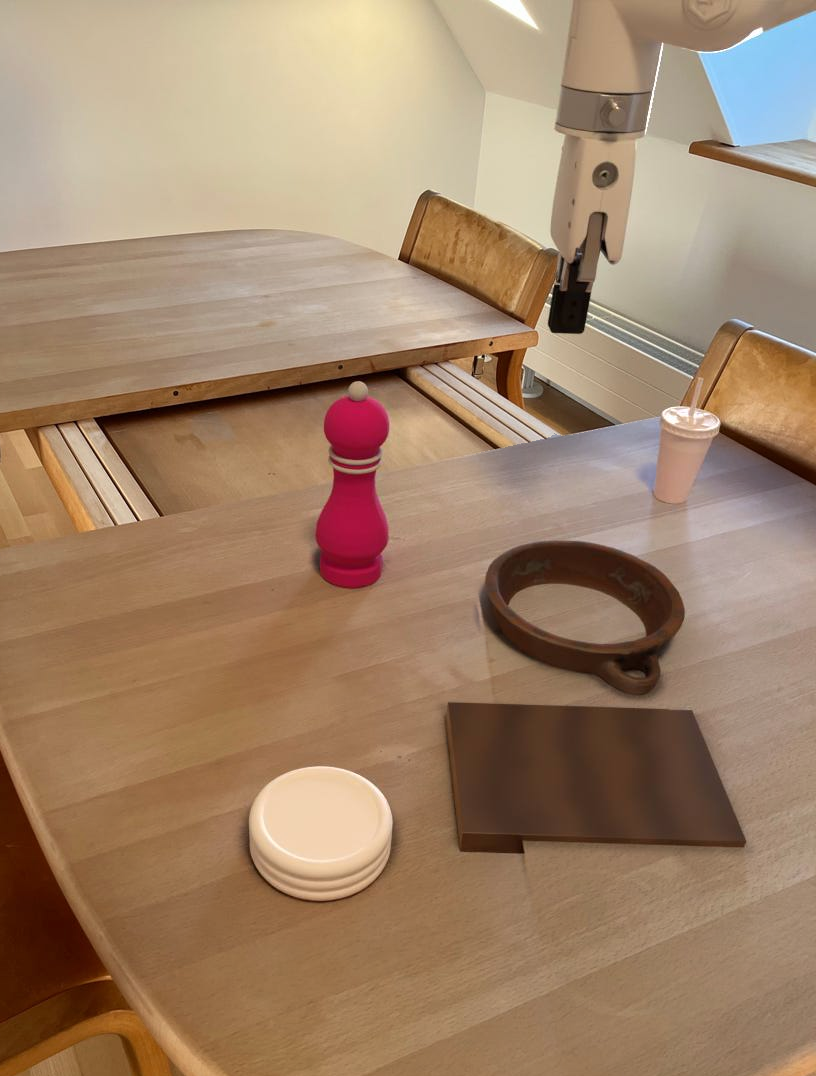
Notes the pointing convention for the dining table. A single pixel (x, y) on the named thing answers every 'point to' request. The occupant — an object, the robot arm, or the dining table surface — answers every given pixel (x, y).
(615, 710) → the cutting board
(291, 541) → the dining table surface
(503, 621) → the dish
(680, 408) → the smoothie
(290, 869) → the coaster
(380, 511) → the pepper mill
